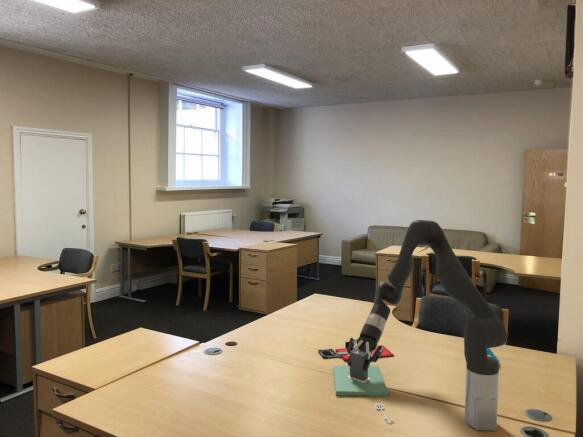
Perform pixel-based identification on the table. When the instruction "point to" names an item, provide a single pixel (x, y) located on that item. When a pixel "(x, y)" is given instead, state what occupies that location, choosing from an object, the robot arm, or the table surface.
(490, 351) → the gear
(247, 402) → the table surface
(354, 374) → the block
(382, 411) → the key
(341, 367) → the header board
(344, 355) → the red board with handle
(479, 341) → the robot arm
